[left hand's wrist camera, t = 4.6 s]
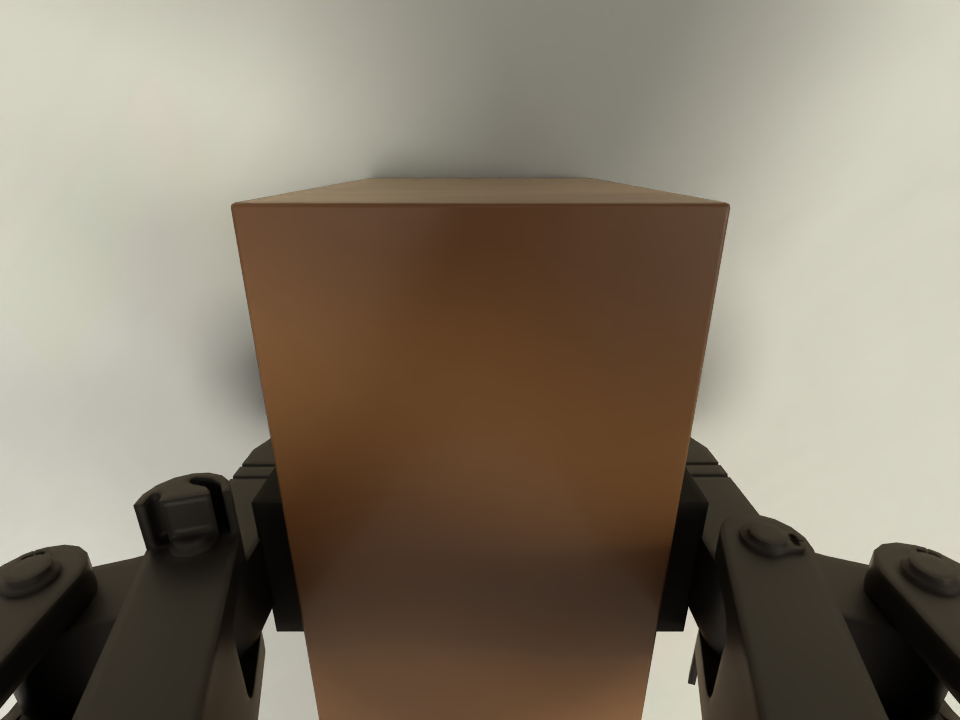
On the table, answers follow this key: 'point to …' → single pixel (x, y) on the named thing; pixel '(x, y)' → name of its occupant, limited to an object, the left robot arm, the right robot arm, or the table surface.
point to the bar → (480, 432)
